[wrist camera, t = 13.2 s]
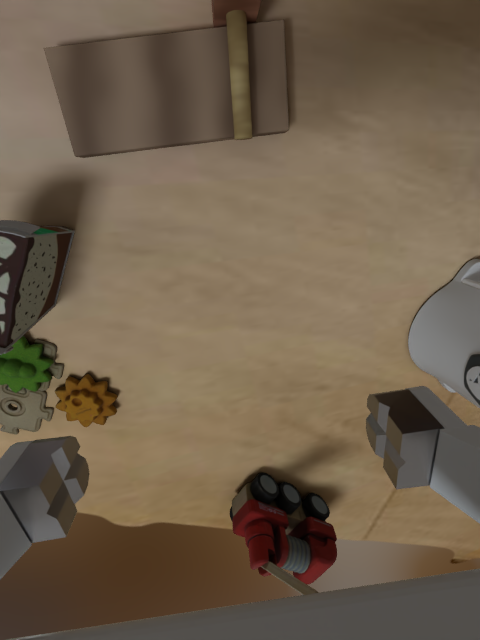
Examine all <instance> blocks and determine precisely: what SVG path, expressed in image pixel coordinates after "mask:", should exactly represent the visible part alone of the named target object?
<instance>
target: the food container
mask: <svg viewBox="0 0 480 640" xmlns="http://www.w3.org/2000/svg"><path fill="white" fill-rule="evenodd" d="M74 232H75V230H73V229H70V228H67V227H63V226H36V225H33V224H30V223H26V222H20V221H11V220H1V221H0V355H2V354H3V353H4V354H6V353H7V352H9V351H11V350H13V349H14V347H11V346H12V345H13V344H14V343H16V342H17V341H18V340H19V339H20V338H21V337H22V336H23V335H24V334H25V333H26V332H27V331H29V330H30V329H31V328H32V327H33V326H34V325H35V324H36V323H37V322H38V321H39V320H40V319H42V318H43V317H44V316H45V315H46V314H47V313H48V312H49V311H50V310H51V309H52V308H54V307H55V306H56V302H57V298H58V294H59V290H60V286H61V282H62V279H63V275H64V271H65V267H66V263H67V259H68V255H69V252H70V248H71V244H72V240H73V236H74Z"/></svg>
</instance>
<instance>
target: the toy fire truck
mask: <svg viewBox="0 0 480 640" xmlns="http://www.w3.org/2000/svg"><path fill="white" fill-rule="evenodd" d="M329 513H330V512H329V508H328V506H327V504H326V502H325V501H324V500H323V499H322V498H321V497H320V496H318V495H317V494H314V493H311V494H310V495H309V496H308V497H307V498H306V499H305V500H304V501H303V502H301V496H300V494H299V492H298V490H297V489H296V488H295V487H294V486H293V485H291V484H290V483H287V482H283V483H281V484H280V486H279V487H278V485H277V483H276V481H275V480H274V479H273V478H272V477H271V476H270V475H268V474H266V473H259V474H258V475H257V477H256V478H255V479H254V480H253V481H252V483H247V484H246V485H245V486H244V487H243V488H242V490H241V491H240V492H239V493H238V494H237V496H236V497H235V498H234V499H233V501H232V507H231V509H230V517H231V520H232V522H233V532H234V534H236V535H239V536H242V537H245V540H246V545H247V547H248V548H249V557H250V566H251V569H253V570H255V569H257V568H258V570H259V573H260V574H261V575H262V576H268V575H271V574H273V575H274V576H276V577H277V578H279V579H280V580H282V581H283V582H284V583H286V584H287V585H289V586H290V587H292V588H293V589H295V590H296V591H298V592H299V593H301V594H302V595H307V594H314V593H319V592H317V591H316V590H315V589H313V588H311V587H310V586H308V585H307V584H311V583H313V582H314V581H315V580H316V579H317V578H318V577H320V576H321V575H322V574H323V573H324V572H325V571H326V570H327V569H328V568H330V567H331V566H332V565H333V563H334V562H335V560H336V557H337V548H336V544H335V541H336V540H337V538H336V534H335V531H334V528H333V526H332V525H331V524H329V523H327V522H326V521H325V520H326V519H327V518H328V517H329ZM281 568H283V569H288V570H290V571H293V575H294V576H292V575H291V574H289V573H287V572H286V571H284V570H283V569H281Z"/></svg>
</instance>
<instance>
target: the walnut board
mask: <svg viewBox="0 0 480 640" xmlns="http://www.w3.org/2000/svg"><path fill="white" fill-rule="evenodd" d="M247 41H248V62H249V82H250V102H251V122H252V137H255V136H263V135H271V134H279V133H285V132H287V131H288V130H289V122H288V100H287V78H286V56H285V34H284V20H277V21H268V22H260V23H251V24H247ZM44 51H45V55H46V58H47V62H48V65H49V68H50V72H51V75H52V79H53V82H54V86H55V89H56V93H57V96H58V99H59V103H60V106H61V110H62V113H63V117H64V120H65V124H66V127H67V131H68V134H69V137H70V141H71V144H72V148H73V151H74V155H75V156H76V157H82V158H85V157H94V156H102V155H110V154H118V153H126V152H134V151H142V150H150V149H158V148H166V147H174V146H182V145H190V144H198V143H207V142H215V141H223V140H231V139H235V138H234V124H233V109H232V95H231V80H230V66H229V52H228V37H227V26H226V27H218V28H209V29H201V30H192V31H184V32H175V33H167V34H158V35H150V36H141V37H133V38H124V39H116V40H107V41H99V42H91V43H82V44H74V45H65V46H57V47H48V48H44Z"/></svg>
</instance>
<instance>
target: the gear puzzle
mask: <svg viewBox="0 0 480 640" xmlns="http://www.w3.org/2000/svg"><path fill="white" fill-rule="evenodd" d="M11 347H14V349H13V350H11V351H9V352H7V353H6V354H4V353H3V354H2V355H0V424H2V425H3V427H2V428H1V431H3V432H7V433H12V434H18V433H19V430H18V428H19V429H23V430H27V431H32V432H36V431H38V430H39V428H40V426H41V421H42V419H45V420H47V421H50V420H51V418H52V415H53V411H54V409H53V408H52V407H45V403H46V398H47V393H46V391H45V390H47V389H48V388H49V385H50V380H51V379H52V376H54V377H55V378H57V379H60V378H61V377H62V374H63V369H64V364H57V363H55V358H56V352H57V347H56V346H55V345H54V344H52V343H50V342H46V341H43V340H39V339H36V340H35V344H33V345H29V344H28V341H27V340H26V338H25V337H24V336H22V337H21V338H20V339H19V340H18V341H17V342H16V343H14V344H13V345H12V346H11ZM65 386H66V387H58V388H57V389H56V390H55V393H56V395H57V396H58V397H59V399H61V400H60V401H59V402H58V403H57V405H56V408H57V409H59V410H62V411H65V412H67V414H66V418H67V421H75V420H79V422H80V423H81V424H82V425H83V426H84V427H88V426H89V425H90V424H91V423H92V422H94V423H97V424H100V425H104V424H105V422H106V420H107V417H106V416H112V415H115V414H116V412H117V409H116V408H115V407H114V406H113V405H112V403H113V402H115V400H116V399H117V397H118V396H117V395H116V394H114V393H111V392H108V391H107V388H108V383H107V382H106V381H100V382H96V383H95V382H94V380H93V379H92V377H91V376H90V375H89V374H86V375H85V376H83V378H82V379H81V380H77V379H76V378H73V377H69V376H68V378H67V379H66V382H65ZM10 403H14V404H16V405H17V407H18V408H13V407H12V406H11V405H10Z"/></svg>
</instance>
